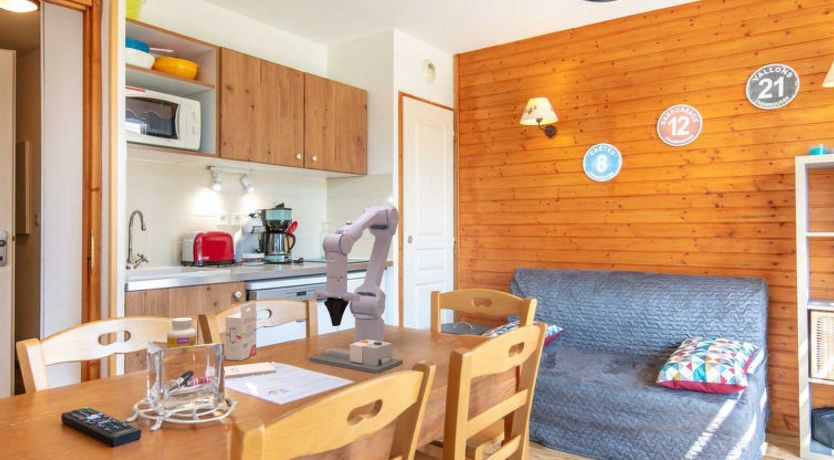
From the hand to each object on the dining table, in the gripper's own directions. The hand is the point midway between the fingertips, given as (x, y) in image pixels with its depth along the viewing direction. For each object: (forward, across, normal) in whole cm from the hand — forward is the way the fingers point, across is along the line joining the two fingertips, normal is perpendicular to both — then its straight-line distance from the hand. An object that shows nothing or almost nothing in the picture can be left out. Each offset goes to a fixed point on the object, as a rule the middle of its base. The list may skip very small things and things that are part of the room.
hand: (336, 325), depth 151 cm
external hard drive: (+10, -9, -24) cm, 27 cm away
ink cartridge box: (+9, -22, -14) cm, 28 cm away
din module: (+8, +11, -1) cm, 13 cm away
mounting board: (+9, +8, -1) cm, 12 cm away
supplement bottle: (+9, -24, -32) cm, 41 cm away
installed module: (+8, +15, -1) cm, 17 cm away
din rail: (+9, +8, -1) cm, 12 cm away
